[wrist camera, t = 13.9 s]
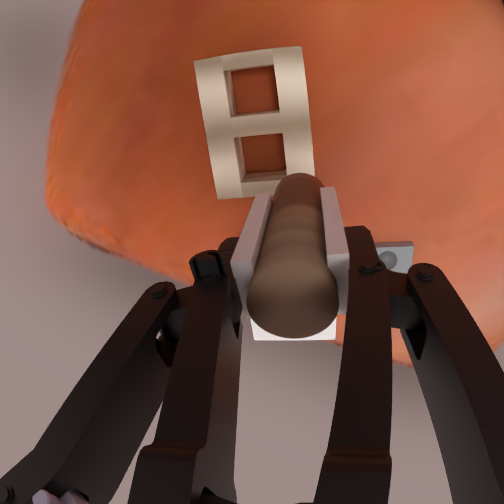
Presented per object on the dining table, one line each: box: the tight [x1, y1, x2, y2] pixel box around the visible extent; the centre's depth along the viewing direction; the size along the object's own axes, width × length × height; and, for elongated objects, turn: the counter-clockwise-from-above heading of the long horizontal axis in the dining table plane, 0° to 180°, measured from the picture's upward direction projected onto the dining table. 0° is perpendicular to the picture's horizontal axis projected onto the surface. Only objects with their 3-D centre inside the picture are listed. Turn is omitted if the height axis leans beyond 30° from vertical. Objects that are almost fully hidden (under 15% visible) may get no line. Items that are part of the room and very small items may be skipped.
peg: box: [246, 173, 339, 339], centre depth 15 cm, size 3×3×10 cm
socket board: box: [194, 46, 315, 200], centre depth 27 cm, size 13×9×3 cm
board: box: [374, 242, 414, 273], centre depth 32 cm, size 7×6×5 cm
